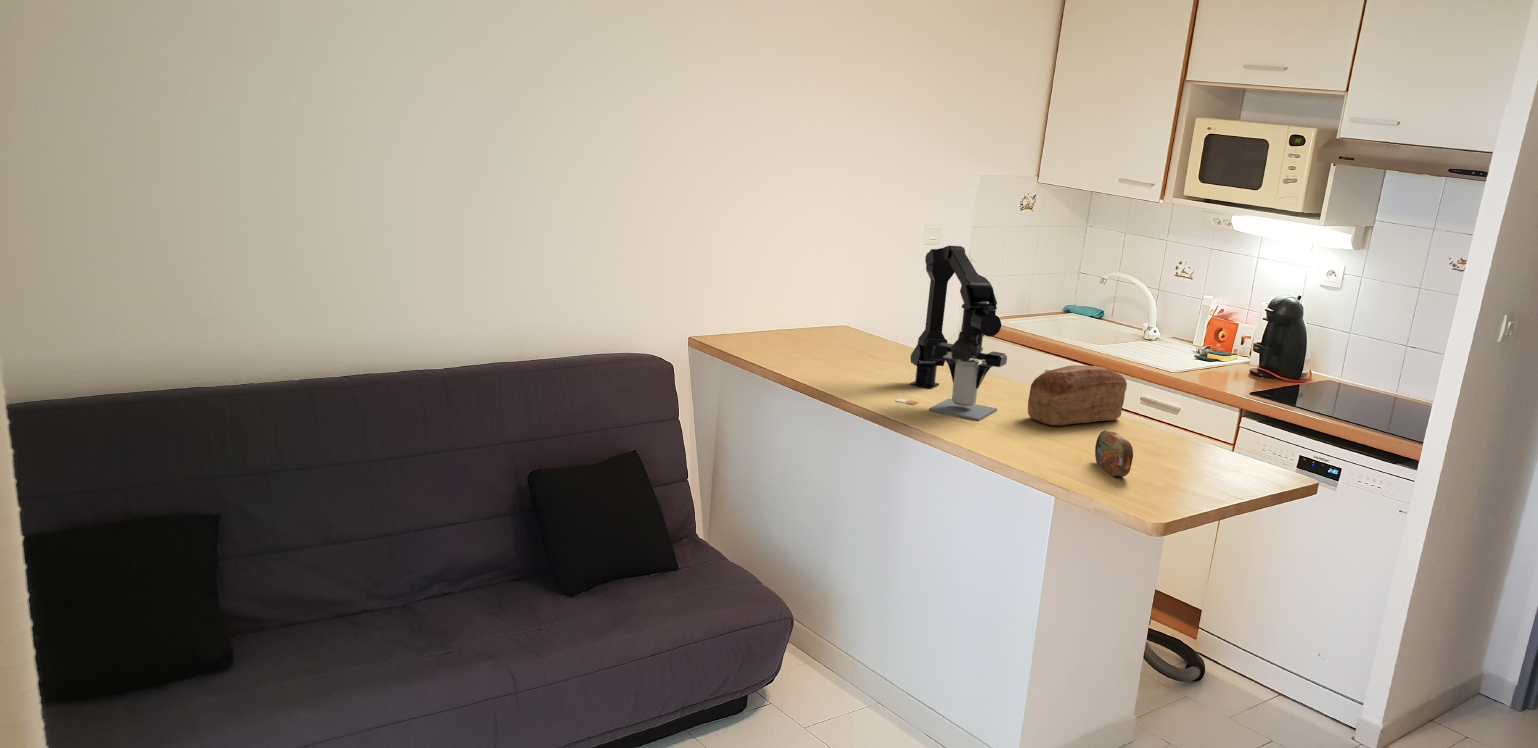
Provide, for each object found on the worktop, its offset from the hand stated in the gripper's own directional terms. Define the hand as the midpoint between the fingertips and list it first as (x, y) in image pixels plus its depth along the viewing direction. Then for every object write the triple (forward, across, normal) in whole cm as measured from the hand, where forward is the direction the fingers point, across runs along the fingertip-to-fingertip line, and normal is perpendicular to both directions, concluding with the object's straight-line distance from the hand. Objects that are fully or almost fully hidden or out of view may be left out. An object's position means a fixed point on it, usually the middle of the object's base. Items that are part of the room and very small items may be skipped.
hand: (965, 386), depth 283 cm
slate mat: (+7, 0, 0) cm, 7 cm away
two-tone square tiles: (+7, -15, -3) cm, 17 cm away
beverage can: (+5, 0, 0) cm, 5 cm away
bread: (+7, +26, +14) cm, 30 cm away
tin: (+7, +45, -25) cm, 52 cm away
